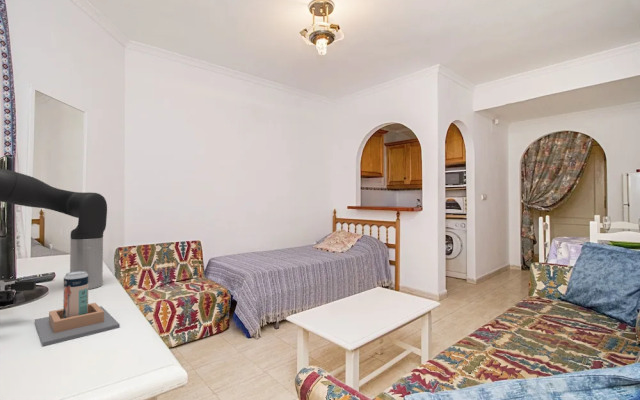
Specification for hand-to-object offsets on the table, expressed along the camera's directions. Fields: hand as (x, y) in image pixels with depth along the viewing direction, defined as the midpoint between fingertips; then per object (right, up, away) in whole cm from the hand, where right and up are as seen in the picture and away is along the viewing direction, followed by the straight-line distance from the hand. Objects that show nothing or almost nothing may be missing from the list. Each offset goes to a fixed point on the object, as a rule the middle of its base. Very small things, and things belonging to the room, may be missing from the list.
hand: (24, 290), depth 74 cm
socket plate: (+10, -9, +3) cm, 14 cm away
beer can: (+10, -9, +3) cm, 14 cm away
